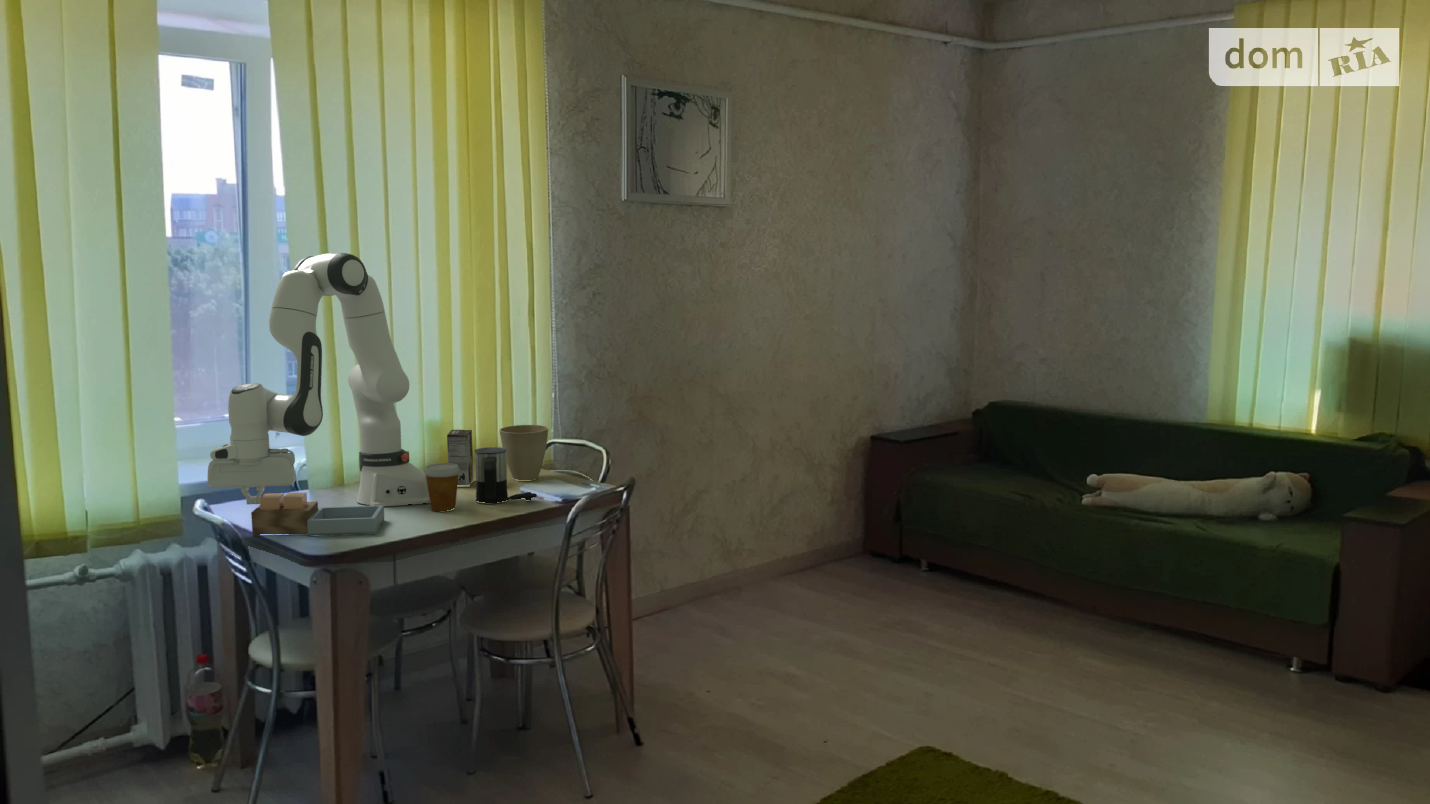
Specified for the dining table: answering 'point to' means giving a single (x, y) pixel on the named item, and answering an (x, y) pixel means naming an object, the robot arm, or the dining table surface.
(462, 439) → the coffee box
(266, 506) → the tile
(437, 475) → the disposable coffee cup
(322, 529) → the box
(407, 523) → the dining table surface
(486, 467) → the milk frother
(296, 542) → the dining table surface
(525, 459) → the plant pot
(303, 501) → the tile
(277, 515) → the brown wooden box
